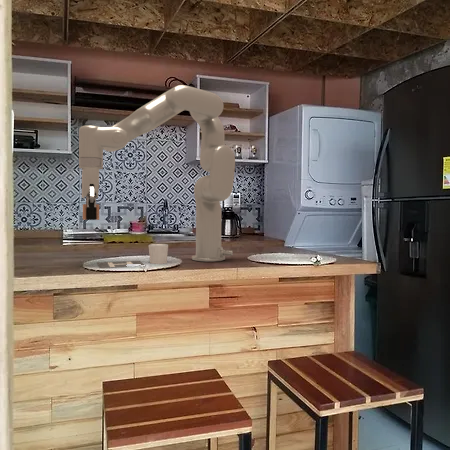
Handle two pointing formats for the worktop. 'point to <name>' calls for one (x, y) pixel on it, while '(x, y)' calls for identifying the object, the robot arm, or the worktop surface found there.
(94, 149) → the robot arm
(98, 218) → the terracotta block
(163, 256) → the beige tapered cup
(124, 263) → the letter mat
